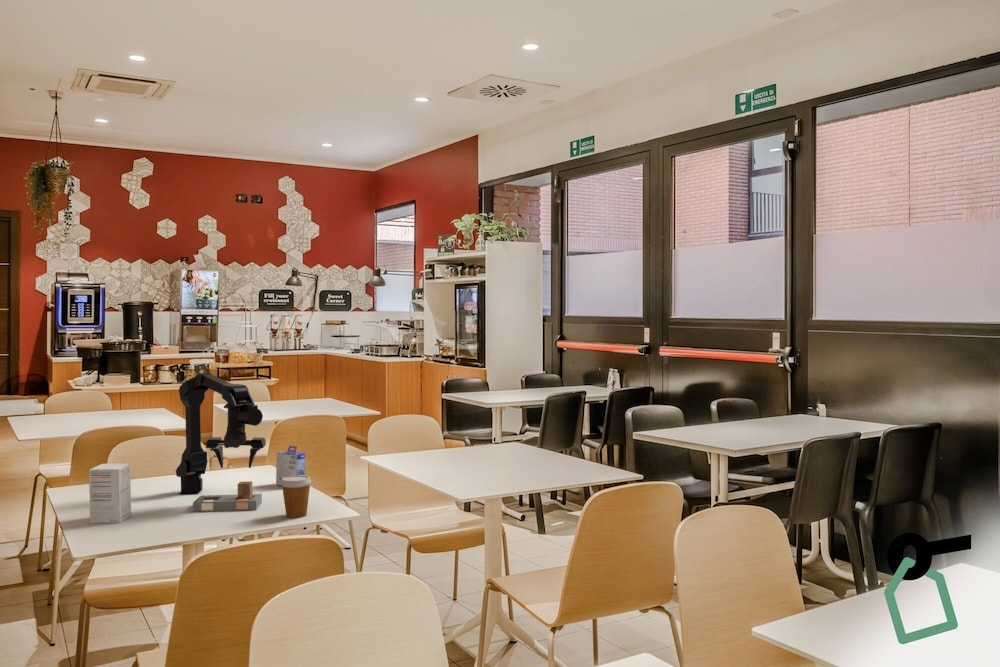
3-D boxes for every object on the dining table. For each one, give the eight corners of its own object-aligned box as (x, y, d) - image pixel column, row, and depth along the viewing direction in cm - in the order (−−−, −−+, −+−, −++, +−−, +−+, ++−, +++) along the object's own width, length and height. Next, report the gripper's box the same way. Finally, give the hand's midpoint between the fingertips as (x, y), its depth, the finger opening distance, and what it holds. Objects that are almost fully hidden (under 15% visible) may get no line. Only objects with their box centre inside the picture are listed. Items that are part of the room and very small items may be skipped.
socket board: (192, 511, 262) (192, 502, 262) (200, 504, 273) (200, 494, 272) (256, 510, 265) (256, 500, 265) (261, 502, 275) (261, 493, 275)
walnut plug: (237, 508, 267) (237, 484, 267) (240, 505, 271) (240, 481, 271) (250, 508, 268) (249, 483, 267) (252, 505, 272) (252, 481, 271)
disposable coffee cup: (299, 510, 264) (299, 473, 264) (317, 515, 258) (317, 477, 258) (274, 516, 257) (274, 478, 257) (293, 521, 251) (292, 482, 251)
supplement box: (102, 515, 257) (101, 463, 257) (132, 515, 258) (131, 462, 258) (89, 523, 248) (88, 469, 247) (120, 523, 249) (119, 468, 248)
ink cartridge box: (306, 485, 303) (306, 446, 302) (296, 487, 298) (296, 448, 297) (285, 482, 307) (284, 444, 307) (275, 485, 302) (275, 446, 302)
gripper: (201, 426, 265) (201, 473, 266) (260, 426, 267) (259, 473, 268) (210, 420, 276) (209, 466, 277) (266, 421, 279) (265, 466, 279)
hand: (235, 467), depth 275 cm, fingers open, 9 cm apart
